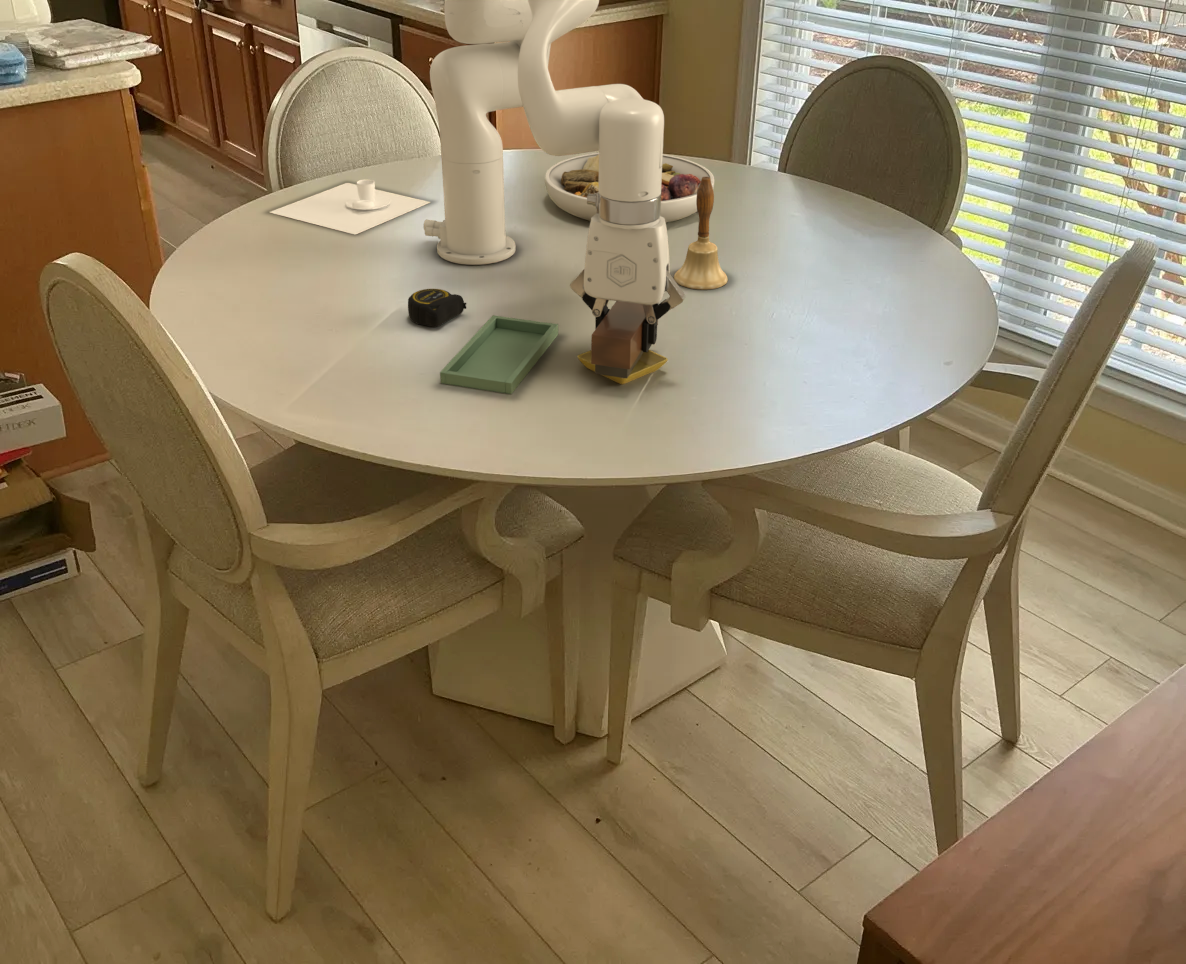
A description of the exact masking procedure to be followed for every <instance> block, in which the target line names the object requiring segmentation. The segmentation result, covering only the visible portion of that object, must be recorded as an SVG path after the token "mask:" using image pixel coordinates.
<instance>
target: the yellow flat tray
mask: <svg viewBox="0 0 1186 964" xmlns="http://www.w3.org/2000/svg"><path fill="white" fill-rule="evenodd" d="M576 357H577V359H578V360H579V362H581V364H582V365H583V366H584V367H585V368H586V369H588V370H590V371H592V372H594V373H595V364H591V350H588V351H585V352H583V353H580V354H577V356H576ZM668 360H669V358H668V357H666V356H664V355H662V354H660V353H657V352H655V351H653V350H651V349H649V350H648V352H643V354H642V356H641V357H640V359H639V360H638V362H637V364H636V365H635V367H634V368H633V370H632V372H631V373H630V375H629V376H628V378H620V377H613V376H606V375H602V377H605V378H606V379H609V380H611V381H613V382H615V383H617V384H620V385H625V384H628V383H630V382H633V381H635V380H637V379H639V378H642V377H644V376H647V375H649V374H653V373H655V372H657V371H658V370H659V369H661V368H662V367H663V366H664V365H665V364H666V363H667V362H668Z"/></svg>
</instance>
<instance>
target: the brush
mask: <svg viewBox="0 0 1186 964" xmlns="http://www.w3.org/2000/svg"><path fill="white" fill-rule="evenodd" d="M609 309H610V310H609V312H608V313H607V314H606V316H605V317H604V319H603V320H602V321H601V323H600V324H599V325H598V327H597V328H596V329H595V328H594V330H593V332H592V333H591V342H590V343H591V344H590V347H591V364H595V372H594V375H600V376H603V375H606V376H613V377H620V378H628V376H629V375H630V373H631V372H632V370H633V368H634V367H635V365H636V364H637V362H638V360H639V359H640V357H641V356H642V354H643V351H642V325H643V323H644V321H645V317H646V316H645V312H644V308H643V305H642V304H636V303H628V302H620V301H614V303H613V305H612V306H611V307H610V308H609ZM658 325H659V319H658V320H657V326H658Z"/></svg>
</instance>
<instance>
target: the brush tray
mask: <svg viewBox="0 0 1186 964" xmlns="http://www.w3.org/2000/svg"><path fill="white" fill-rule="evenodd" d="M558 335H559V324H558V323H553V322H544V321H537V320H530V319H524V318H516V317H508V316H502V315H495V314H493V315H492V316H490V318H489V319H488V320H487V321H486V322H485V323H484V324H483V325H482V326H481V327H480V328H479V329H478V331H477V332H476V333H475V334H474V335H473V336H472V337H471V338H470V339H469V340H468V342H467V343H465V345H464V346H462V348H461V349H460V350H459V351H458V352H457V353H456V354H455V356H453V358H452V359H451V360H450V361H449V362H448V363H447V364H446V365H445V366H444V367H443V368H442V369H441V371H440V372H439V377H440V379H439V381H440V384H441V385H443V384H444V385H450V386H455V387H462V388H469V389H475V390H482V391H488V392H493V393H494V392H495V393H501V394H507V395H512V394H513V393H514V392H515V391H516V389H517V388H518V387H519V386H520V384H521V383H522V382H523V380H524V379H525V378H526V376H527V375H528V374H529V372H530V371H531V370H532V369H533V368H534V367H535V365H536V364H537V362H538V361H539V360H540V359H541V357H542V356H543V355H544V353H545V352H546V351H547V350H548V349H549V348H550V346H551V344H552V343H553V342H554V340H555V339H556V338H557V337H558Z"/></svg>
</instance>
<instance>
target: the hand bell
mask: <svg viewBox="0 0 1186 964" xmlns="http://www.w3.org/2000/svg"><path fill="white" fill-rule="evenodd" d="M714 203H715V192H714V188H713V187H712V184H711V178H710V177H702V180H701V183H700V186H699V188H698V191H697V199H696V205H697V215H698V227H697V228H698V229H697V240H696V241H693V242H691V243H689V245H688V247H687V252H686V256H685V259H684V262H683V264H682V265H681V267H680V268H679V269H677V270H676V271H675V273H674V275H673V279H674V280H675V281H676V283H677V284H678V286H682V287H684V288H687V289H691V290H698V291H702V290H703V291H704V290H706V291H707V290H716V289H719V288H722V287H723V286H725V285H726V284H728V280H729V279H728V276H727V274H726V272H725V271H723V269H722V267H721V265H720V261H719V254H718V253H719V251H718V246H717V245H716V244H715V243H714V242H711V241H710V219H711V215H712V211H713V208H714Z"/></svg>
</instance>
